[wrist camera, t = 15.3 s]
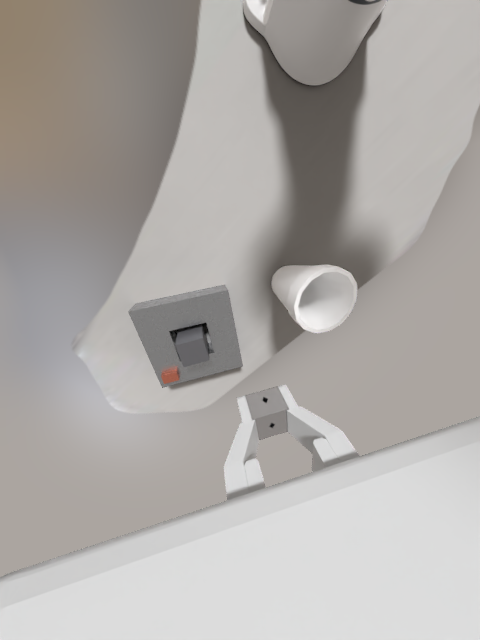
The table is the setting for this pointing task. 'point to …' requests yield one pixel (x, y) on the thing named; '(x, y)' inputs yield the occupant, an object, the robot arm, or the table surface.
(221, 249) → the table surface
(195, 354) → the plug
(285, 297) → the foam cup
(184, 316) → the socket
